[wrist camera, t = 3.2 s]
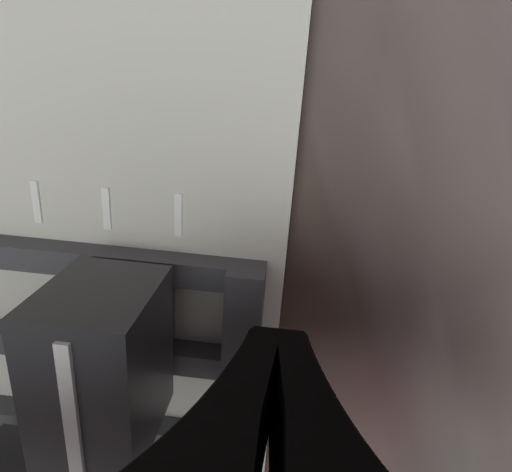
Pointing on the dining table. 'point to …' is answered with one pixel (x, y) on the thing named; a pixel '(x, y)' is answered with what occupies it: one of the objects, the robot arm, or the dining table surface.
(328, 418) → the robot arm
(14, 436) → the fader knob
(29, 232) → the mixing board
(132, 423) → the fader knob
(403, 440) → the dining table surface
